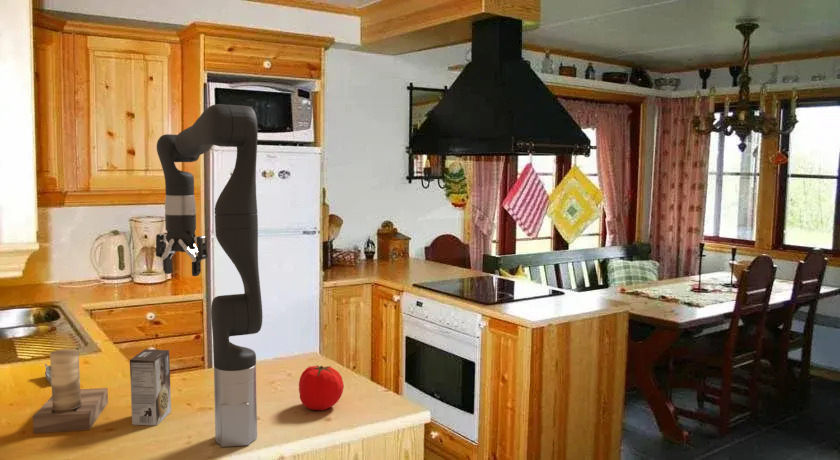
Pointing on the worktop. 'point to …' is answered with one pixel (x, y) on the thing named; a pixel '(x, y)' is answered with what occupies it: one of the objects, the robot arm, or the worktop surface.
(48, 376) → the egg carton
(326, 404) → the tomato
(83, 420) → the seat board
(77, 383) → the stool leg
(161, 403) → the coffee box
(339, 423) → the worktop surface
